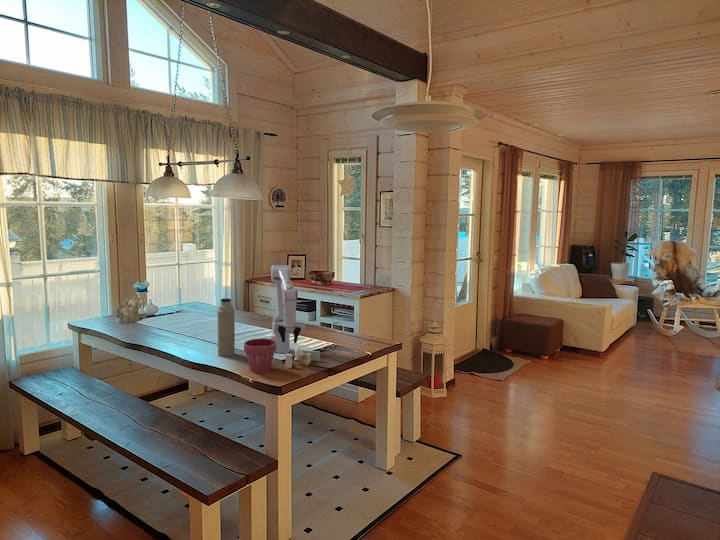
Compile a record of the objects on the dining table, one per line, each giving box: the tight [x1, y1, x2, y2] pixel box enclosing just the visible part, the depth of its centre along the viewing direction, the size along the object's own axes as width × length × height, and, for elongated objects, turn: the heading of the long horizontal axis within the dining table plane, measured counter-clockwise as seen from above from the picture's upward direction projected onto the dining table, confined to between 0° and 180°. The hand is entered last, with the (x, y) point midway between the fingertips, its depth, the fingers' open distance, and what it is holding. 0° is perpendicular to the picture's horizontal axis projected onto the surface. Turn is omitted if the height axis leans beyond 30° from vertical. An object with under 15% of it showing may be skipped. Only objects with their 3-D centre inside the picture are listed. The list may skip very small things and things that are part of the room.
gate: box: [301, 349, 321, 362], centre depth 239 cm, size 9×1×4 cm, turn 78°
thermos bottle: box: [217, 297, 236, 358], centre depth 243 cm, size 8×8×28 cm
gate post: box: [293, 348, 301, 361], centre depth 241 cm, size 4×4×5 cm
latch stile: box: [285, 353, 293, 369], centre depth 231 cm, size 3×7×6 cm, turn 168°
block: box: [297, 351, 312, 366], centre depth 235 cm, size 5×5×4 cm
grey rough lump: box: [115, 296, 141, 324], centre depth 310 cm, size 16×16×15 cm
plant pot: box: [243, 338, 276, 374], centre depth 223 cm, size 14×14×13 cm
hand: (289, 342), depth 235 cm, fingers open, 5 cm apart
